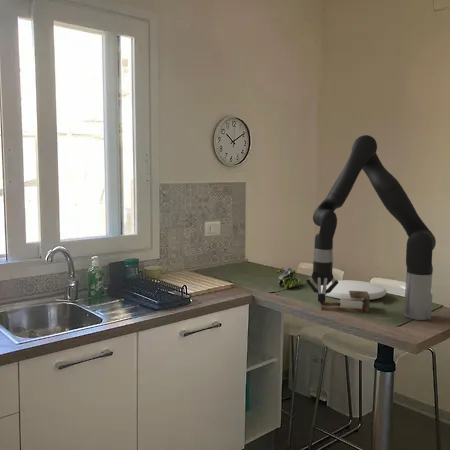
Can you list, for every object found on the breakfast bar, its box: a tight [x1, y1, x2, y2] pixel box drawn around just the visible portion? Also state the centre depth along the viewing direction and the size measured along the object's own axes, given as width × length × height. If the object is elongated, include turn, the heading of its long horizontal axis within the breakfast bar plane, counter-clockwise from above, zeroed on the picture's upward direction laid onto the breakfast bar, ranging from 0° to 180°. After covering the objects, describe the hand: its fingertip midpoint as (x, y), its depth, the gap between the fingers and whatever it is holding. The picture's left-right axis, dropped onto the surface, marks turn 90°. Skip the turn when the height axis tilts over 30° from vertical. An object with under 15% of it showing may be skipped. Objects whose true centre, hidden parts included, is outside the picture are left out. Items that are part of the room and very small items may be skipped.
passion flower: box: [276, 266, 302, 290], centre depth 242 cm, size 11×11×12 cm
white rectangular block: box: [339, 297, 364, 309], centre depth 205 cm, size 8×5×4 cm, turn 81°
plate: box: [321, 279, 387, 301], centre depth 228 cm, size 28×6×27 cm
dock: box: [320, 291, 370, 314], centre depth 205 cm, size 18×8×7 cm, turn 81°
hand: (321, 302), depth 206 cm, fingers closed
